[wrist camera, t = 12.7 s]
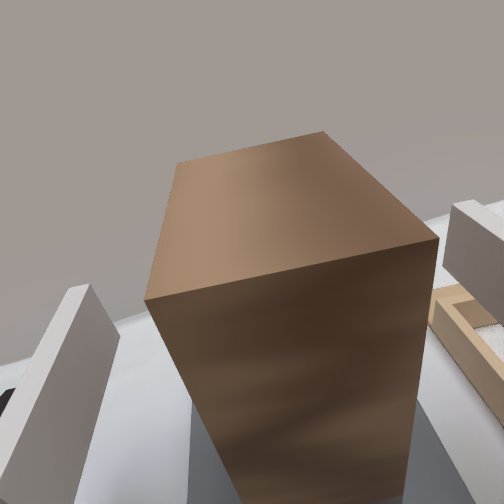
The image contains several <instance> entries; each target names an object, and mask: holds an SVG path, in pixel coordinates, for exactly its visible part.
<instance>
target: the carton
mask: <svg viewBox="0 0 504 504" xmlns="http://www.w3.org/2000/svg"><path fill="white" fill-rule="evenodd" d="M497 323H499V322H498V321H497V320H496V319H495V318H494V317H493V316H492V315H491V314H490V313H489V312H488V311H487V310H486V309H485V308H484V307H483V306H482V305H481V304H480V303H479V302H478V301H477V300H476V299H475V298H474V297H473V296H472V295H471V294H470V293H469V292H468V291H467V290H466V289H465V288H464V287H463V286H462V285H461V284H456V285H451V286H446V287H442V288H437V289H432V295H431V302H430V309H429V317H428V325H429V326H430V328H431V329H432V330H433V332H434V333H435V334H436V336H437V337H438V338H439V340H440V341H441V343H442V344H443V345H444V347H445V348H446V349H447V351H448V352H449V353H450V355H451V356H452V357H453V359H454V360H455V362H456V363H457V364H458V366H459V367H460V368H461V370H462V371H463V372H464V374H465V375H466V376H467V378H468V379H469V381H470V382H471V383H472V385H473V386H474V387H475V389H476V390H477V391H478V393H479V394H480V395H481V397H482V398H483V400H484V401H485V402H486V404H487V405H488V406H489V408H490V409H491V410H492V412H493V413H494V415H495V416H496V417H497V419H498V420H499V421H500V423H501V424H502V425H503V427H504V363H503V362H502V361H501V360H500V358H499V357H498V356H497V355H496V354H495V353H494V352H493V350H492V349H491V348H490V347H489V346H488V345H487V344H486V342H485V341H484V340H483V339H482V338H481V337H480V336H479V334H478V333H477V332H476V331H475V330H474V329H473V328H477V327H482V326H487V325H492V324H497Z"/></svg>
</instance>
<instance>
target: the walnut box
mask: <svg viewBox="0 0 504 504" xmlns="http://www.w3.org/2000/svg"><path fill="white" fill-rule="evenodd" d="M439 239H440V238H439V237H438V236H437V235H436V234H435V233H434V232H433V231H432V230H431V229H429V228H428V227H427V226H426V225H425V224H424V223H423V222H422V221H421V220H420V219H418V218H417V217H416V216H415V215H414V214H413V213H412V212H411V211H410V210H409V209H407V207H405V206H404V205H403V204H402V203H401V202H400V201H399V200H398V199H396V198H395V197H394V196H393V195H392V194H391V193H390V192H389V191H388V190H387V189H386V188H385V187H384V186H382V185H381V184H380V183H379V182H378V181H377V180H376V179H375V178H374V177H373V176H372V175H370V174H369V173H368V172H367V171H366V170H365V169H364V168H363V167H362V166H361V165H359V164H358V163H357V162H356V161H355V160H354V159H353V158H352V157H351V156H350V155H349V154H348V153H346V152H345V151H344V150H343V149H342V148H341V147H340V146H339V145H338V144H337V143H335V142H334V141H333V140H332V139H331V138H330V137H329V136H328V135H327V134H326V133H325V132H323V131H322V132H318V133H313V134H308V135H304V136H299V137H295V138H290V139H286V140H281V141H277V142H272V143H267V144H263V145H258V146H254V147H249V148H245V149H240V150H235V151H231V152H226V153H221V154H218V155H212V156H208V157H203V158H199V159H194V160H189V161H185V162H180V163H177V167H176V171H175V175H174V179H173V183H172V188H171V192H170V195H169V200H168V204H167V208H166V212H165V216H164V220H163V224H162V228H161V232H160V237H159V240H158V245H157V249H156V253H155V257H154V261H153V265H152V269H151V273H150V277H149V282H148V285H147V290H146V294H145V298H144V301H145V303H146V306H147V308H148V310H149V312H150V314H151V316H152V318H153V320H154V322H155V324H156V326H157V328H158V331H159V333H160V335H161V337H162V339H163V341H164V343H165V345H166V347H167V349H168V351H169V353H170V355H171V357H172V359H173V362H174V364H175V366H176V368H177V370H178V372H179V374H180V376H181V378H182V380H183V382H184V384H185V386H186V388H187V390H188V393H189V395H190V397H191V399H192V401H193V403H194V405H195V407H196V409H197V411H198V413H199V415H200V417H201V419H202V421H203V424H204V426H205V428H206V430H207V432H208V434H209V436H210V438H211V440H212V442H213V444H214V446H215V448H216V450H217V452H218V455H219V457H220V459H221V461H222V463H223V465H224V467H225V469H226V471H227V473H228V475H229V477H230V479H231V481H232V483H233V486H234V488H235V490H236V492H237V494H238V496H239V498H240V500H241V502H242V504H402V501H403V494H404V487H405V480H406V473H407V466H408V458H409V451H410V444H411V437H412V430H413V423H414V416H415V409H416V402H417V395H418V388H419V380H420V373H421V366H422V359H423V352H424V345H425V338H426V331H427V324H428V317H429V309H430V302H431V295H432V288H433V281H434V274H435V267H436V260H437V253H438V246H439Z"/></svg>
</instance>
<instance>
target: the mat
mask: <svg viewBox="0 0 504 504" xmlns="http://www.w3.org/2000/svg"><path fill="white" fill-rule="evenodd" d="M187 504H242V502H241V500H240V498H239V496H238V494H237V492H236V490H235V488H234V486H233V483H232V481H231V479H230V477H229V475H228V473H227V471H226V469H225V467H224V465H223V463H222V461H221V459H220V457H219V455H218V452H217V450H216V448H215V446H214V444H213V442H212V440H211V438H210V436H209V434H208V432H207V430H206V428H205V426H204V424H203V421H202V419H201V417H200V415H199V413H198V411H197V409H196V407H195V405H194V403H193V401H192V415H191V436H190V457H189V478H188V499H187ZM402 504H476V503H475V502H474V500H473V498H472V496H471V494H470V493H469V491H468V489H467V487H466V485H465V484H464V482H463V480H462V478H461V477H460V475H459V473H458V471H457V469H456V468H455V466H454V464H453V462H452V460H451V459H450V457H449V455H448V453H447V451H446V450H445V448H444V446H443V444H442V443H441V441H440V439H439V437H438V435H437V434H436V432H435V430H434V428H433V426H432V425H431V423H430V421H429V419H428V417H427V416H426V414H425V412H424V410H423V409H422V407H421V405H420V403H419V401H418V400H417V402H416V409H415V416H414V423H413V430H412V437H411V444H410V451H409V458H408V466H407V473H406V480H405V487H404V494H403V501H402Z"/></svg>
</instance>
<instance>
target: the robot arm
mask: <svg viewBox="0 0 504 504" xmlns="http://www.w3.org/2000/svg"><path fill="white" fill-rule="evenodd" d="M442 266H443V267H444V268H445V269H446V270H447V271H448V272H449V273H450V274H451V275H452V276H453V277H454V278H455V279H456V280H457V281H458V282H459V283H460V284H461V285H462V286H463V287H464V288H465V289H466V290H467V291H468V292H469V293H470V294H471V295H472V296H473V297H474V298H475V299H476V300H477V301H478V302H479V303H480V304H481V305H482V306H483V307H484V308H485V309H486V310H487V311H488V312H489V313H490V314H491V315H492V316H493V317H494V318H495V319H496V320H497V321H498V322H499V323H500V324H501V325H502V326H503V327H504V219H503V218H502V217H500V216H498V215H497V214H495V213H494V212H492V211H491V210H489V209H487V208H486V207H484V206H483V205H481V204H480V203H478V202H476V201H475V200H469V201H464V202H459V203H455V204H452V207H451V214H450V220H449V227H448V233H447V240H446V246H445V252H444V259H443V265H442ZM119 339H120V335H119V333H118V331H117V330H116V328H115V326H114V324H113V323H112V321H111V319H110V317H109V316H108V314H107V312H106V311H105V309H104V307H103V305H102V304H101V302H100V300H99V298H98V297H97V295H96V293H95V292H94V290H93V288H92V286H91V285H90V284H85V285H81V286H76V287H71V288H69V289H68V291H67V293H66V294H65V296H64V298H63V300H62V302H61V304H60V306H59V308H58V310H57V311H56V313H55V315H54V317H53V319H52V321H51V323H50V325H49V326H48V328H47V330H46V332H45V334H44V336H43V338H42V340H41V342H40V343H39V345H38V347H37V349H36V351H35V353H34V355H33V357H32V359H31V360H30V362H29V364H28V366H27V368H26V370H25V372H24V374H23V375H22V377H21V379H20V381H19V383H18V385H17V387H16V388H13V389H8V390H6V391H5V392H4V393H3V394H2V395H1V396H0V504H74V500H75V496H76V493H77V489H78V486H79V482H80V478H81V475H82V471H83V468H84V464H85V461H86V457H87V453H88V450H89V446H90V443H91V439H92V436H93V432H94V428H95V425H96V421H97V418H98V414H99V411H100V407H101V403H102V400H103V396H104V393H105V389H106V386H107V382H108V378H109V375H110V371H111V368H112V364H113V361H114V357H115V353H116V350H117V346H118V343H119Z"/></svg>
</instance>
